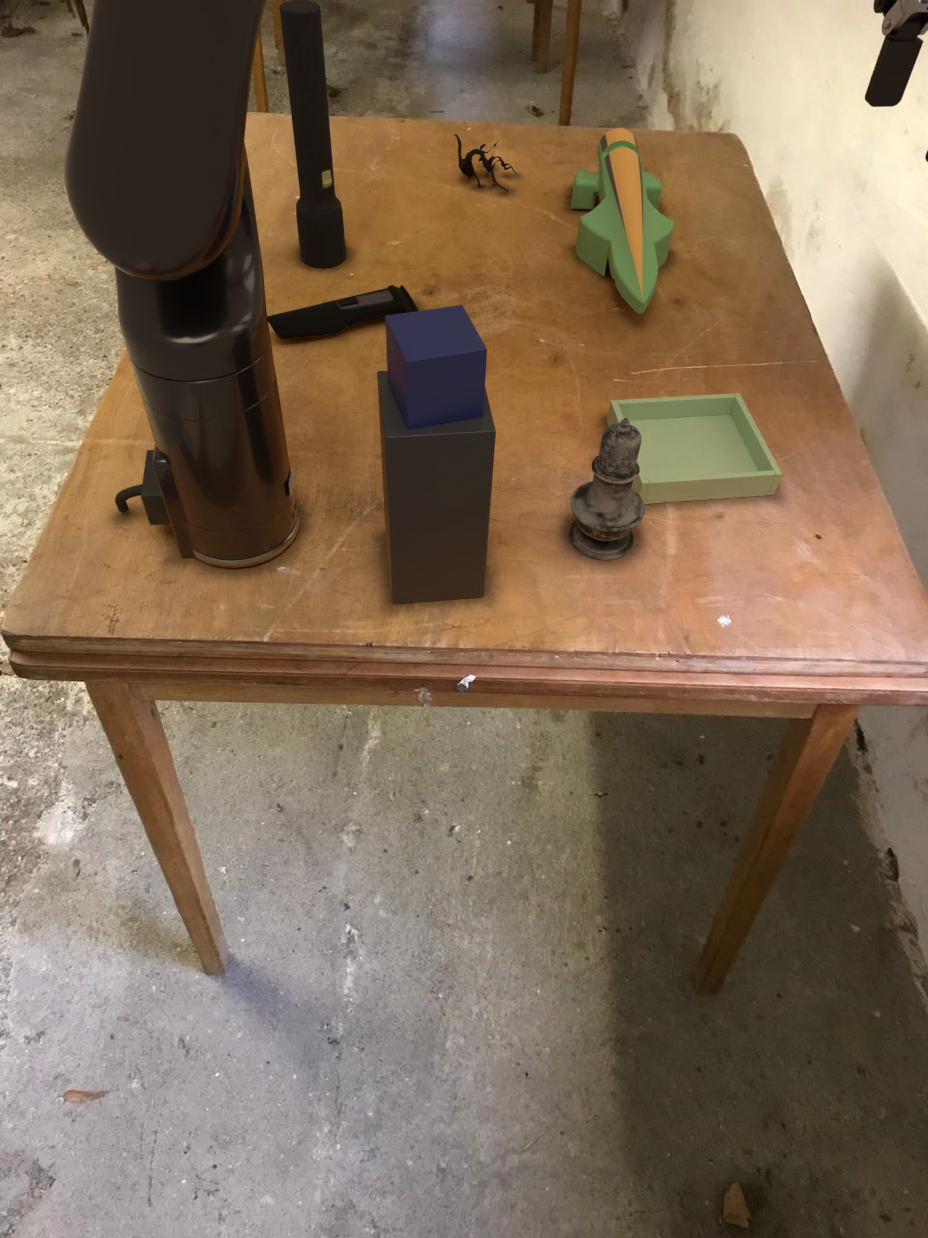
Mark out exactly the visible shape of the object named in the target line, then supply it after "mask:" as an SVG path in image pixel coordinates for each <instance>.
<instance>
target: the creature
mask: <svg viewBox="0 0 928 1238" xmlns="http://www.w3.org/2000/svg"><path fill="white" fill-rule="evenodd" d="M454 136H455V138H456V141H457V155H458V158H457V159H458V168H459V170H460V172H461V173H462V174H463V175H464V176H465V177H467V179H468V180H471V178H472V177H475V179H476V181H477V188H479V189H481V188H483V187H488V185H487V184H482V185H481V182H480V179H479V177H478V176H477V174H478V171H475V168H474V165H473V157H474V156H475V155H478V156H480V157H479V158H478V159H477V161H478V162H482V165H483V168H484V169H485V170H486V172H487V173H484V175H486V176H489V173H490V176H491V181H492V182H493V183H492V186H497V187H499V188H500V189H502V190H504V191H506V192H509V191H510V190H509V189H508V188H505V187H503V186H502V185H500V184H499V183H498V181H497V180H496V177H495V172H494V169H495V166H496V164H497V162H500V166H501V167H502V168H503V170H504V171H509V170H510V169H511V170H512V172H513V173H514V174H515V175H517V172H516V171H515V169H514V167H513V166H512V165H511V163H508V162H507V163H505V161H504V160H503V159H502V157H501V156H499V155H497V156H495V155H493V153H494V152H492V154H491V156H490V157H489V158H487V157H486V154H489V152H490V151H491V149H492V148H493V149H495V148H496V146H497V144H498V142H499V141H500V139H498V140H497V141H496V142H495V143H494V144H493V145H491V147H490V149H488V151H485V150H483V149H484V147H485V146H486V145H487V144H486V143H483V144H481V145H480V146H479V148H473V149H472V150H470V151H469V152H467V153H466V155H465V157H464V158H463V157H462V147H463V145H462V141H461V139H460V136H459V135H458V134H454ZM495 159H497V160H496V161H494V160H495ZM493 162H494V163H493Z"/></svg>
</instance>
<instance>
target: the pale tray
mask: <svg viewBox="0 0 928 1238" xmlns="http://www.w3.org/2000/svg"><path fill="white" fill-rule="evenodd" d="M606 417H607V418H606V424H607V427H608V426H610V425H612V424H614V423H620V421H621V420H623V419H624V418H627V419H628V420H629V421H630V425H632V426H634V427H635V428H637V430H638V431H639V432H640V434H641V445H640V450H639V454H638V458H637V463H638V465H639V468H640V472H639V475H638V477H637V478H636V479H635V480H633V484H632V488H633V489H634V490H635V491H636V492H637V493H638V494H639V495H640V496H641V498H642V499H643V502H644V505H650V504H665V503H676V502H677V503H678V502H679V503H680V502H691V501H707V500H708V501H709V500H721V499H722V500H723V499H735V498H750V497H765V496H774V495H775V494H776V491H777V489H778V486H779V484H780V481H781V479H782V476H783V472H782V470H781V469H780V467H779V465H778V463H777V461H776V459H775V457H774V455H773V454H772V451H771V450H770V447H769V446H768V444H767V442H766V440H765V438H764V437H763V435H762V432H761V431H760V429H759V427H758V426H757V424H756V422H755V419H754V417H753V416H752V414H751V412H750V410H749V409H748V406H747V404H746V403H745V400H744V399H743V397H742V395H741V393H740V392H734V393H732V392H731V393H715V394H697V395H680V396H679V395H677V396H662V397H661V396H659V397H645V398H643V397H642V398H627V399H625V398H624V399H611V400H610V402H609V406H608V413H607V416H606Z"/></svg>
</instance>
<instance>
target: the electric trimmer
mask: <svg viewBox="0 0 928 1238" xmlns="http://www.w3.org/2000/svg"><path fill="white" fill-rule="evenodd" d="M415 311H419V308H418V307H417V305H416V303H415V301H414V300H413V298H412V296H411V294H410V293H409V292H408V290H407V289H406V288H405V286H404V285H403V284H401V285H400V286H399V287H398V286H396V285H394V284H389V285H388V286H387V287H386V288H382V289H376V290H373V291H369V292H365V293H360V294H359V293H358V294H356V295H351V296H347V297H342V298H338V299H333V300H329V301H325V302H322V303H318V304H314V305H308V306H305V307H300V308H297V309H292V310H287V311H284V312H278V313H275V314H270V315H267V319H268V325H270V327H271V329H272V331H273V332H274V334H275V335H276V336H277V338H278V339H280V340H291V339H301V338H310V337H319V336H326V335H333V334H340V333H342V332H343V331H344V330H345V329H346V328H347V327H351V326H356V325H360V324H361V325H362V324H366V323H371V322H377V321H381V320H385V316H388V315H394V314H401V313H408V312H415Z"/></svg>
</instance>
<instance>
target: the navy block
mask: <svg viewBox="0 0 928 1238" xmlns="http://www.w3.org/2000/svg"><path fill="white" fill-rule="evenodd" d="M384 320H385V321H384V322H385V341H386V342H385V343H386V346H385V347H386V368H387V369H386V371H387V372H388V384H389V387H390V389H391V391H392V394H393V396H394V398H395V401H396V403H397V405H398V408H399V410H400V412H401V415H402V417H403V419H404V422H405V424H406V426H407V429H408V430H409V429H415V428H420V427H426V426H432V425H438V424H443V423H449V422H455V421H461V420H466V419H472V418H478V417H483V410H484V394H485V388H486V376H487V375H486V374H487V359H488V357H487V356H488V348H487V346H486V345H485V343H484V341H483V339H482V338H481V336H480V334H479V332H478V330H477V329H476V327H475V324H474V323H473V321H472V320H471V318H470V317H469V315H468V313H467V310H466V309H465V307H464V305H463V304H456V305H451V306H444V307H443V306H442V307H437V308H436V307H435V308H431V309H430V308H429V309H423V310H422V309H421V310H418V311H415V312H408V313H401V314H394V315H388V316H385V319H384Z"/></svg>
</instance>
